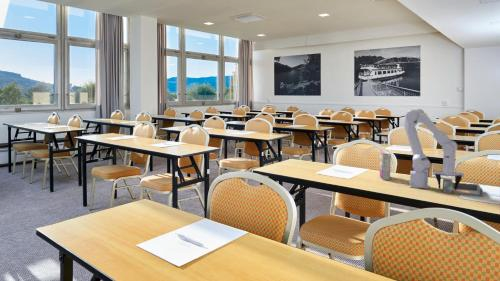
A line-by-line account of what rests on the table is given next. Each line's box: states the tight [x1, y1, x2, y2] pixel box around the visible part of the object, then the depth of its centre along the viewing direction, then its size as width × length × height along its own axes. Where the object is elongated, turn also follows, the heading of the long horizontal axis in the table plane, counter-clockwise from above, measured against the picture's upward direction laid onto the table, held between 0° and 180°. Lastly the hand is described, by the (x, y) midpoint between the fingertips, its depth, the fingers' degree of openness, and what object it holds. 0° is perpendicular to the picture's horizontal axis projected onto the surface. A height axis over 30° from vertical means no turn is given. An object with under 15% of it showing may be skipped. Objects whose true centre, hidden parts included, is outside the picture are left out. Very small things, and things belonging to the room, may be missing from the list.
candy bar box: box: [379, 150, 392, 181], centre depth 232 cm, size 11×5×16 cm, turn 168°
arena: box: [452, 182, 484, 197], centre depth 199 cm, size 13×12×3 cm
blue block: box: [442, 178, 454, 194], centre depth 201 cm, size 4×7×6 cm, turn 158°
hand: (447, 188), depth 201 cm, fingers open, 7 cm apart
